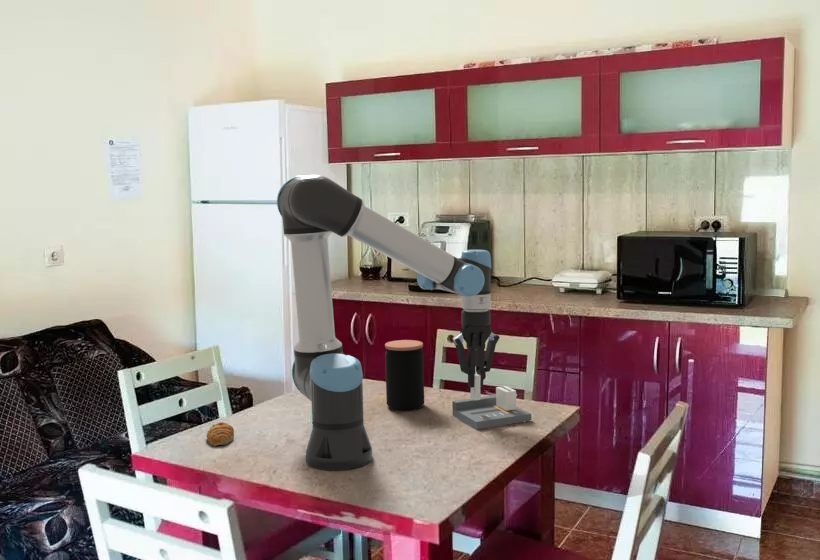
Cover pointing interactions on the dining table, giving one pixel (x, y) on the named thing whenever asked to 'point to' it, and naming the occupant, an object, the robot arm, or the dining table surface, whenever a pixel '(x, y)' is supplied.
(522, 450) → the dining table surface
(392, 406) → the coffee jar
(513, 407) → the fader
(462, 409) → the grey slider base
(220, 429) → the pastry
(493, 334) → the robot arm
